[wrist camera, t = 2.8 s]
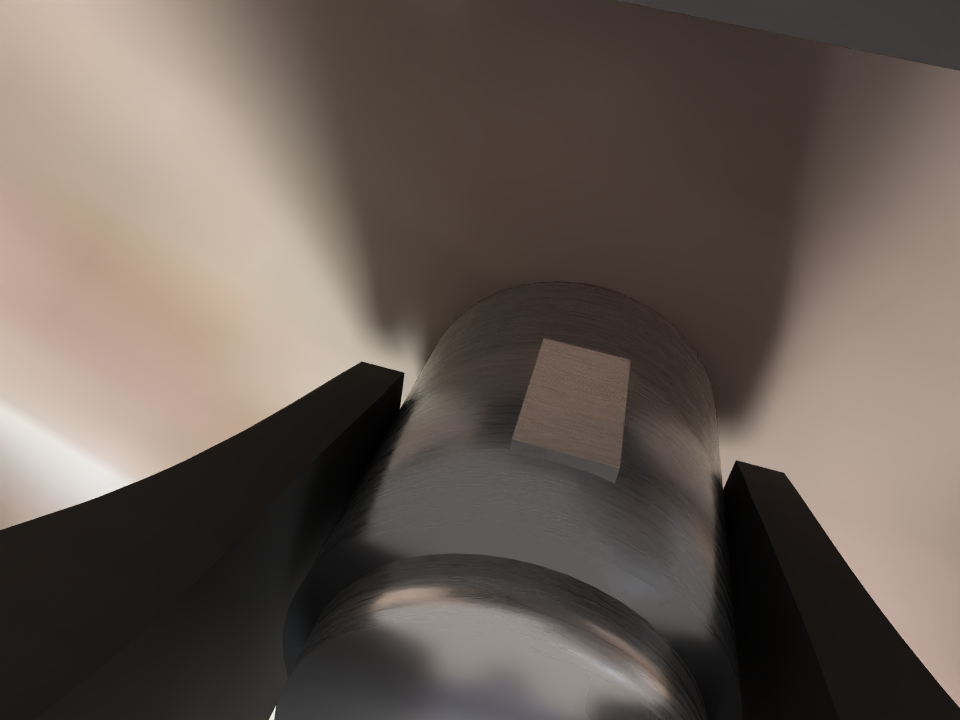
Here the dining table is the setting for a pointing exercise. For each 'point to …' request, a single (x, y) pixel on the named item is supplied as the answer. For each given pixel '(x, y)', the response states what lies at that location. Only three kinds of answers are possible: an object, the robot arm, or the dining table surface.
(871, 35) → the octagonal frame panel
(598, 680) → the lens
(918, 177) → the dining table surface
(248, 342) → the dining table surface
